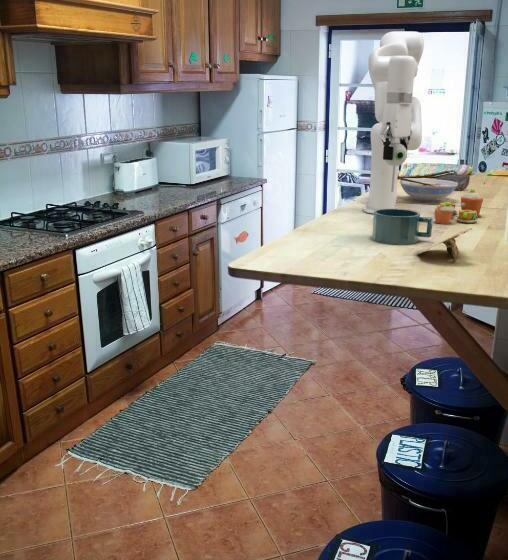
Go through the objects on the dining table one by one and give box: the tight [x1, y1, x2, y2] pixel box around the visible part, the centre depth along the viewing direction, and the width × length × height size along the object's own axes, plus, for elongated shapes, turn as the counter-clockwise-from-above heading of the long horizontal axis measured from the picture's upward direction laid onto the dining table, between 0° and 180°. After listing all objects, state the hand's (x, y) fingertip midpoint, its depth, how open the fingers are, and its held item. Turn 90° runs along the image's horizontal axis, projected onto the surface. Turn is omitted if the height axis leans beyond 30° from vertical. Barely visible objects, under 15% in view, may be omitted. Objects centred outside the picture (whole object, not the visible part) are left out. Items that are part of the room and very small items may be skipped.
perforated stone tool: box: [436, 174, 471, 191], centre depth 286 cm, size 15×5×7 cm, turn 70°
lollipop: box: [385, 143, 408, 192], centre depth 197 cm, size 7×7×15 cm
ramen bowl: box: [397, 176, 458, 203], centre depth 255 cm, size 25×23×8 cm
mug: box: [371, 208, 434, 246], centre depth 185 cm, size 17×13×8 cm
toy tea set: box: [434, 188, 484, 225], centre depth 218 cm, size 26×16×10 cm, turn 158°
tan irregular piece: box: [420, 227, 473, 263], centre depth 165 cm, size 18×14×8 cm
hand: (394, 158), depth 196 cm, fingers closed on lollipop, 7 cm apart
